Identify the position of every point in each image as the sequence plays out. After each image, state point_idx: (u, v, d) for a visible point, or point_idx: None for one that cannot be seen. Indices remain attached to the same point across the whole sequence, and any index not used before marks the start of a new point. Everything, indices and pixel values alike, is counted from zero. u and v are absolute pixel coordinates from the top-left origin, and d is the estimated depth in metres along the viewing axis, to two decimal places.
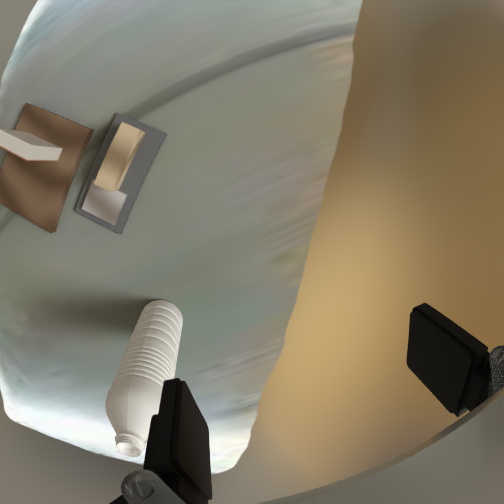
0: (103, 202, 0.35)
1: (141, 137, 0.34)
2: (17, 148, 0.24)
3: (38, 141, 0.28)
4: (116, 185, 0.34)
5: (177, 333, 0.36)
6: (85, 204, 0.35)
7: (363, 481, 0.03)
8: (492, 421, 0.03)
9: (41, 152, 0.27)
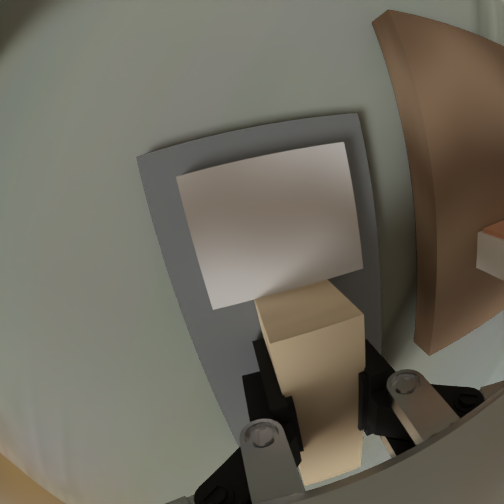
0: (275, 224, 0.09)
1: None
2: None
3: None
4: (266, 338, 0.09)
5: None
6: (340, 168, 0.09)
7: (363, 481, 0.03)
8: (492, 421, 0.03)
9: None
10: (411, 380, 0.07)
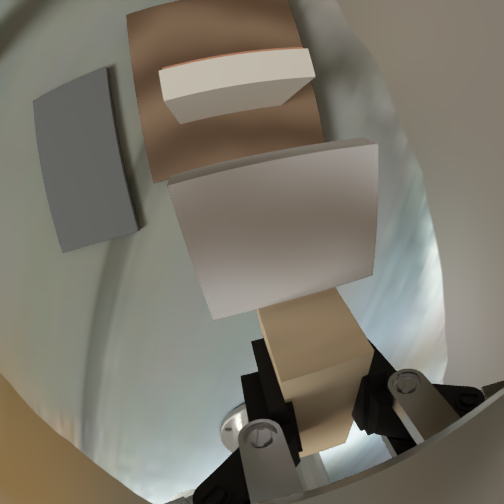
0: (287, 237, 0.08)
1: None
2: (206, 70, 0.12)
3: (212, 107, 0.17)
4: (270, 353, 0.09)
5: None
6: (369, 174, 0.07)
7: (363, 481, 0.03)
8: (492, 421, 0.03)
9: None
10: (413, 380, 0.07)
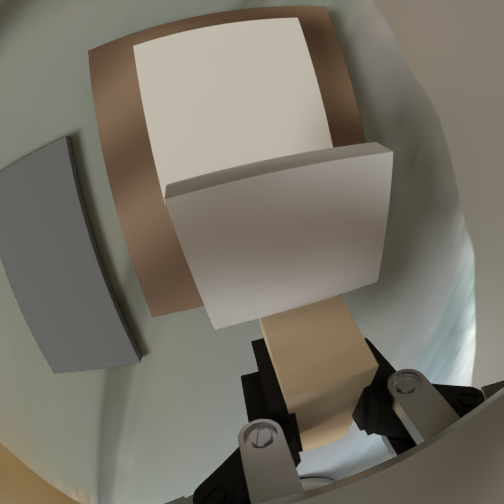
0: (293, 249, 0.07)
1: None
2: None
3: (202, 114, 0.11)
4: (273, 363, 0.08)
5: None
6: (381, 184, 0.07)
7: (363, 481, 0.03)
8: (492, 421, 0.03)
9: None
10: (413, 380, 0.07)
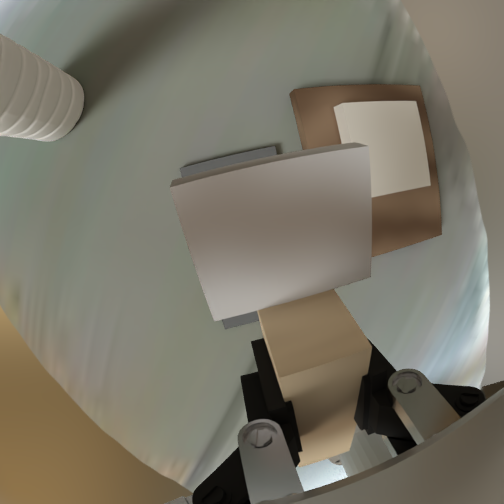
0: (284, 238, 0.08)
1: None
2: None
3: (379, 154, 0.21)
4: (270, 354, 0.09)
5: None
6: (361, 176, 0.08)
7: (363, 481, 0.03)
8: (492, 421, 0.03)
9: (345, 137, 0.21)
10: (413, 380, 0.07)
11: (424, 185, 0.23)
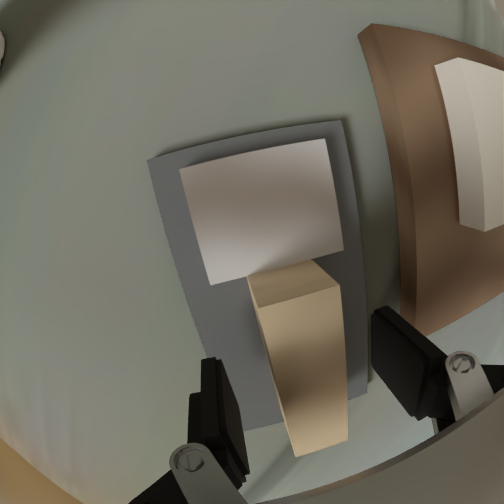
0: (264, 210, 0.11)
1: (281, 410, 0.13)
2: None
3: None
4: (256, 309, 0.10)
5: None
6: (322, 161, 0.10)
7: (363, 481, 0.03)
8: (492, 421, 0.03)
9: (461, 118, 0.09)
10: (468, 362, 0.07)
11: None
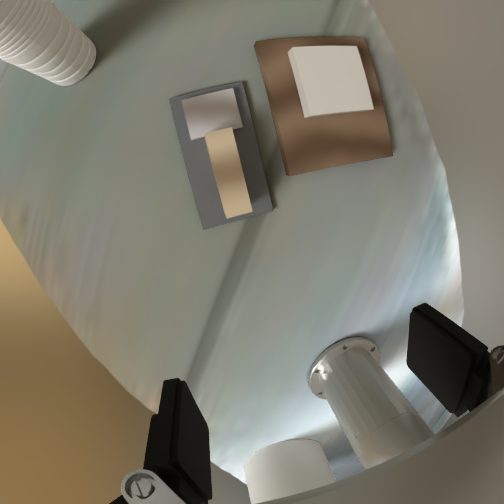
0: (210, 112, 0.27)
1: None
2: None
3: (324, 83, 0.26)
4: (206, 143, 0.27)
5: (34, 73, 0.18)
6: (231, 95, 0.27)
7: (363, 481, 0.03)
8: (492, 421, 0.03)
9: (296, 72, 0.26)
10: None
11: (367, 108, 0.27)
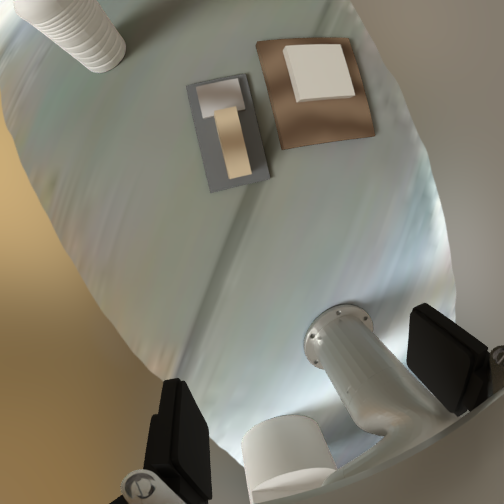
0: (219, 97, 0.33)
1: (227, 172, 0.36)
2: None
3: (312, 73, 0.32)
4: (215, 119, 0.33)
5: (76, 58, 0.24)
6: (236, 84, 0.33)
7: (363, 481, 0.03)
8: (492, 421, 0.03)
9: (289, 65, 0.32)
10: None
11: (349, 94, 0.33)
